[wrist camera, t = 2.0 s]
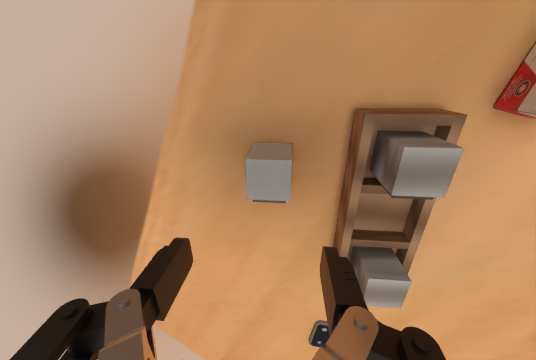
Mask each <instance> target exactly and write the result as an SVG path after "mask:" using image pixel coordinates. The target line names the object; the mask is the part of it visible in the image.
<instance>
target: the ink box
mask: <svg viewBox="0 0 536 360" xmlns="http://www.w3.org/2000/svg"><path fill="white" fill-rule="evenodd" d="M494 107H495V109H498V110H502V111H506V112H510V113H513V114H517V115H521V116H526V117H530V118H535V119H536V44H535V45H534V47H533V48H532V50H531V51H530V53H529V54H528V56H527V57H526V59H525V60H524V62H523V63H522V65H521V66H520V68H519V70H518V71H517V72H516V74H515V75H514V77H513V78H512V80H511V81H510V83H509V84H508V86H507V87H506V89H505V90H504V92H503V94H502V95H501V96H500V98H499V99H498V101H497V103H496V104H495V105H494Z"/></svg>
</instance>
